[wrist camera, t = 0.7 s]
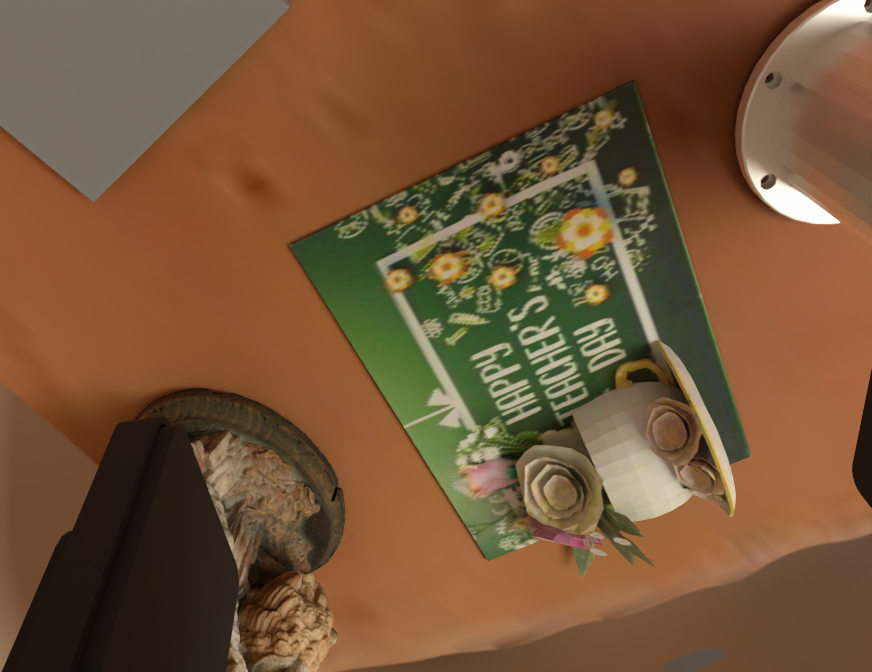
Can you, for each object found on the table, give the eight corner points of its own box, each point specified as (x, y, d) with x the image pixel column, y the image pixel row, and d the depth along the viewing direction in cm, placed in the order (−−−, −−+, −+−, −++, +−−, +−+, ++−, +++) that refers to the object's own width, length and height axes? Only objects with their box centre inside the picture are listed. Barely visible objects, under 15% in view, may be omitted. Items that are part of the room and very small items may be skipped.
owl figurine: (395, 528, 55) (413, 771, 41) (258, 597, 58) (230, 848, 43) (233, 351, 46) (184, 582, 32) (78, 440, 49) (-32, 693, 34)
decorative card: (812, 569, 51) (527, 675, 54) (759, 488, 58) (507, 586, 60) (685, 121, 34) (282, 308, 37) (630, 77, 41) (290, 240, 44)
